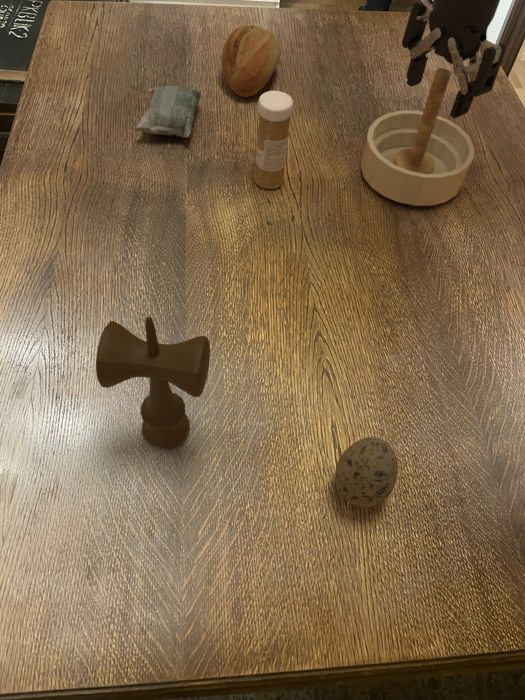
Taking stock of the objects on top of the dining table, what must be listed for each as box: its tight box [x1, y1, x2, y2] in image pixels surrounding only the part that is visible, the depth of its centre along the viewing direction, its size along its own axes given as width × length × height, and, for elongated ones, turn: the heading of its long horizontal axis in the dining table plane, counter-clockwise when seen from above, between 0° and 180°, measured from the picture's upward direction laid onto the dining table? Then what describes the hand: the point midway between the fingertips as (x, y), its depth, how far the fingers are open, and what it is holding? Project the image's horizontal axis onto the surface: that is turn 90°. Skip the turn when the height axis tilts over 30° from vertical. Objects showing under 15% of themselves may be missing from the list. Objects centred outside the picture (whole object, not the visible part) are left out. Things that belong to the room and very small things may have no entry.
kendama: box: [95, 316, 211, 449], centre depth 58 cm, size 6×10×20 cm, turn 83°
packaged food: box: [133, 85, 202, 139], centre depth 95 cm, size 9×12×5 cm
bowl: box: [360, 110, 475, 207], centre depth 91 cm, size 16×16×6 cm
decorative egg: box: [334, 436, 399, 508], centre depth 59 cm, size 6×6×10 cm
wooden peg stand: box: [394, 68, 452, 174], centre depth 86 cm, size 6×6×16 cm
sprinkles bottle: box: [253, 90, 294, 190], centre depth 85 cm, size 5×5×13 cm
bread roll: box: [220, 24, 282, 98], centre depth 103 cm, size 10×15×8 cm, turn 168°
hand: (434, 99), depth 83 cm, fingers open, 8 cm apart
